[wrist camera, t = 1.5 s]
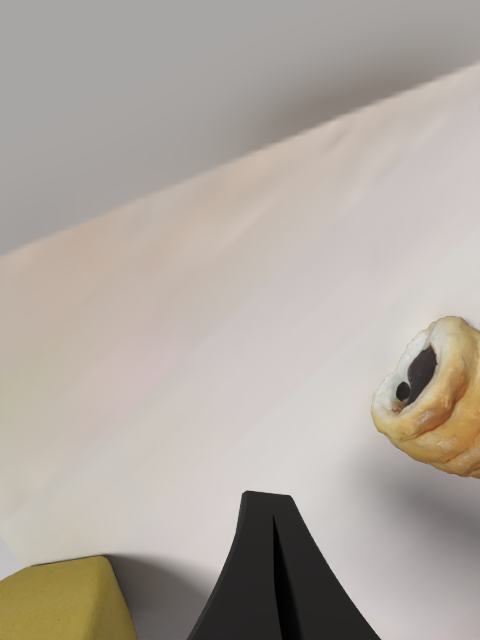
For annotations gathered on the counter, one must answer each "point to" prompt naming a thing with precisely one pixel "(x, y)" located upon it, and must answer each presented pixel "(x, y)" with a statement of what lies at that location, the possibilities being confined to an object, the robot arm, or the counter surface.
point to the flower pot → (65, 603)
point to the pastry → (435, 398)
